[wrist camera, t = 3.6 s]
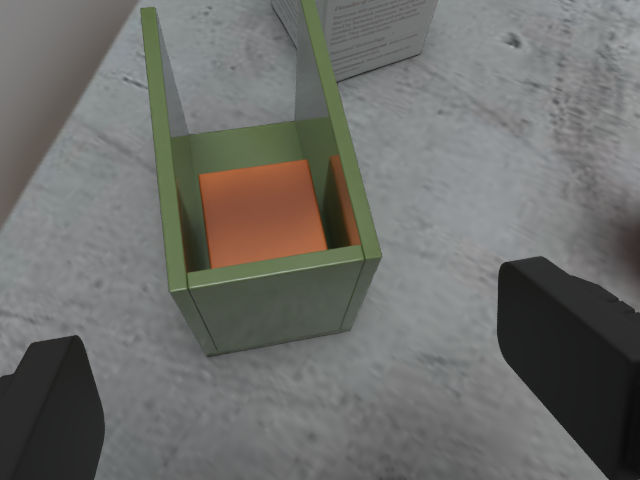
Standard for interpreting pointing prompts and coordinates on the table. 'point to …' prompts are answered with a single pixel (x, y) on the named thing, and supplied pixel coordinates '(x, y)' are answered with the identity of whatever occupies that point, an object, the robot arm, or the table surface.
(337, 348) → the table surface
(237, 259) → the block
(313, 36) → the green storage bin
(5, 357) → the table surface
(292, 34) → the product box
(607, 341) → the robot arm
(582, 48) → the table surface
